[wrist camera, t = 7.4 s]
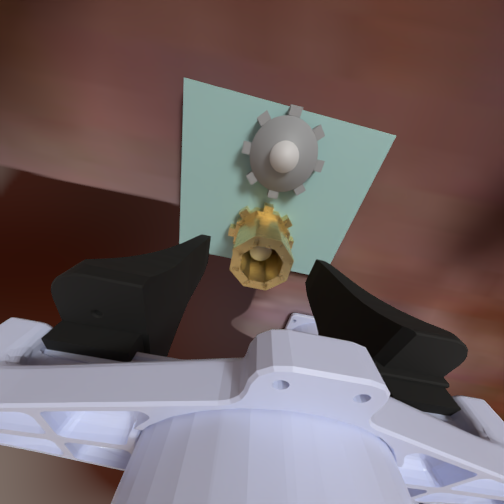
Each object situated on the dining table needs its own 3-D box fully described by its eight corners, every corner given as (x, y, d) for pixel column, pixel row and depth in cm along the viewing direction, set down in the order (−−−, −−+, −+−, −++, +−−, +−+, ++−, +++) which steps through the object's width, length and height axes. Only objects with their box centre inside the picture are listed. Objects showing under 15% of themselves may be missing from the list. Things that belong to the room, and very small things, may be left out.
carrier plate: (320, 271, 19) (333, 299, 15) (183, 242, 18) (164, 265, 14) (387, 136, 13) (433, 131, 9) (189, 82, 12) (160, 55, 8)
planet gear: (282, 265, 17) (289, 303, 13) (226, 253, 17) (213, 289, 13) (301, 210, 15) (318, 236, 10) (235, 195, 14) (224, 215, 10)
